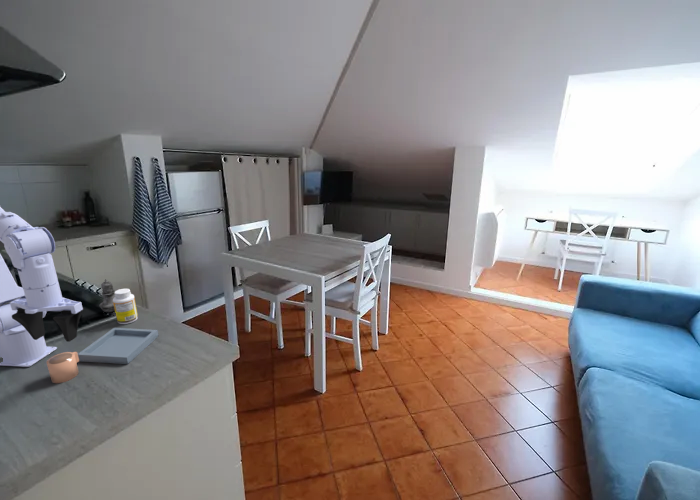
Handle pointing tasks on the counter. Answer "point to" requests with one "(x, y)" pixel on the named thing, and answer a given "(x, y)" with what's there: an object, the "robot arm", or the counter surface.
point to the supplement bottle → (125, 306)
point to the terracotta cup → (63, 367)
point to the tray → (118, 346)
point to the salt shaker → (107, 297)
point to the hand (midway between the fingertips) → (55, 338)
